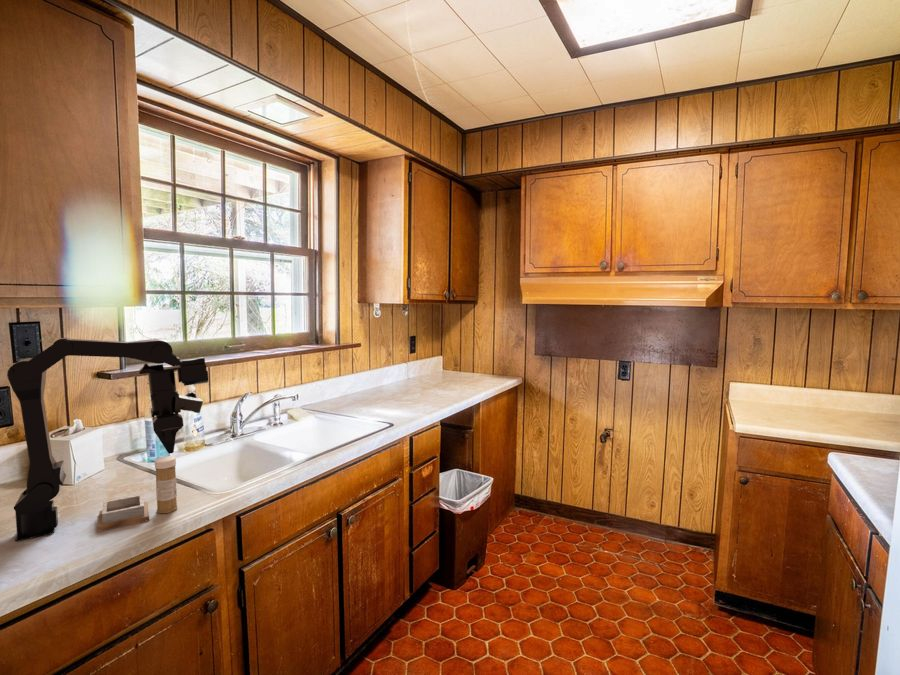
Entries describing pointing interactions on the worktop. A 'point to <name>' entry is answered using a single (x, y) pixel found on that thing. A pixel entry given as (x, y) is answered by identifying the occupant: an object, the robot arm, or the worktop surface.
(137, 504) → the collar
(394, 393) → the worktop surface
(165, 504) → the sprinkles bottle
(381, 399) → the worktop surface
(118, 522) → the baseplate
